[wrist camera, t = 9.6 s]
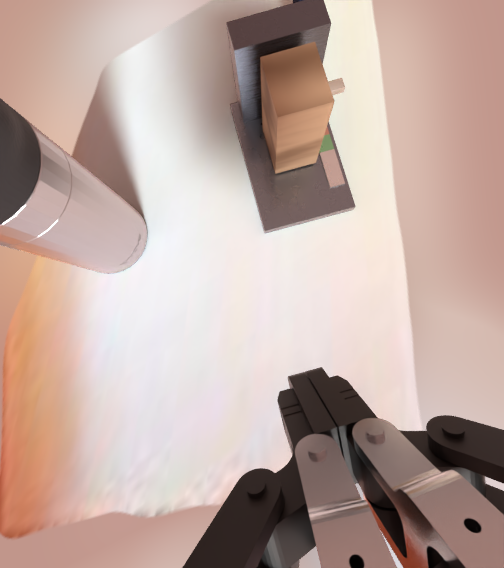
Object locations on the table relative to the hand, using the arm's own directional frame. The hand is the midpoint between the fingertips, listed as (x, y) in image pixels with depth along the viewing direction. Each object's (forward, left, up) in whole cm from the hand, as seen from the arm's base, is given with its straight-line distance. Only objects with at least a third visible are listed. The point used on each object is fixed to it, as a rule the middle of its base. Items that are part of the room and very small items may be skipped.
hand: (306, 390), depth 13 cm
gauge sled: (-10, +22, -20) cm, 32 cm away
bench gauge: (-11, +20, -22) cm, 32 cm away
